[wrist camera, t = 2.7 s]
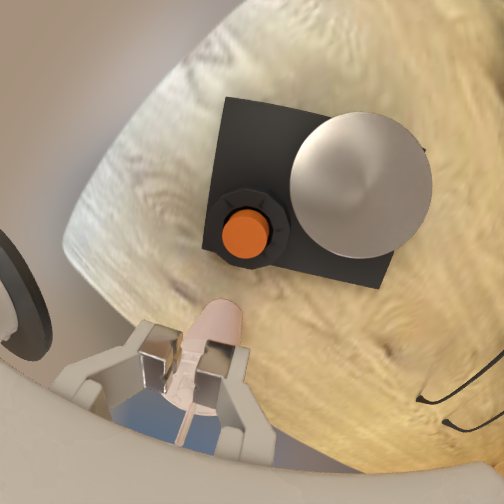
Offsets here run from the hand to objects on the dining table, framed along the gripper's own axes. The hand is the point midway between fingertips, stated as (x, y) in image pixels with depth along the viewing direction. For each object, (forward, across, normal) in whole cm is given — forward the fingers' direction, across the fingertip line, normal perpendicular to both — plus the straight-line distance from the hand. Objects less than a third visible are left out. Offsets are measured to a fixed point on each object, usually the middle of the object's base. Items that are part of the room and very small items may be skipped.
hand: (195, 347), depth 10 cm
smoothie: (+15, -1, -10) cm, 18 cm away
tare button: (+13, 0, 0) cm, 13 cm away
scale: (+15, +4, +3) cm, 16 cm away
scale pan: (+12, +7, +5) cm, 15 cm away
